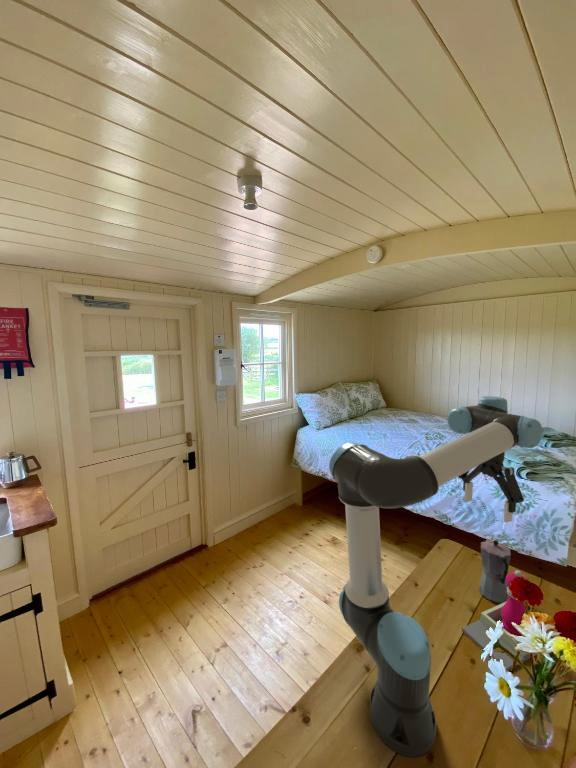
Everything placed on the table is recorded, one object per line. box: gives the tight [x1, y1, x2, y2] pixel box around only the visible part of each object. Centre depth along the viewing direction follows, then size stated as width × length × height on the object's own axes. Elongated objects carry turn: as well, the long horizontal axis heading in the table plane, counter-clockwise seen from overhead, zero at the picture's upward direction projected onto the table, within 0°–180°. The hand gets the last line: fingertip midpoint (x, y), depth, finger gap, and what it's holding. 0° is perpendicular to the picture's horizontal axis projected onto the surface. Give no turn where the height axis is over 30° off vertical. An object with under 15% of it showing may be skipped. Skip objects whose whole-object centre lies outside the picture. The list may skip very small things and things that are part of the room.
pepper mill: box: [501, 569, 528, 636], centre depth 99 cm, size 7×7×20 cm
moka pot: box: [478, 539, 512, 604], centre depth 115 cm, size 10×15×20 cm, turn 174°
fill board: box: [461, 601, 530, 671], centre depth 99 cm, size 20×14×4 cm
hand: (486, 510), depth 103 cm, fingers open, 13 cm apart
